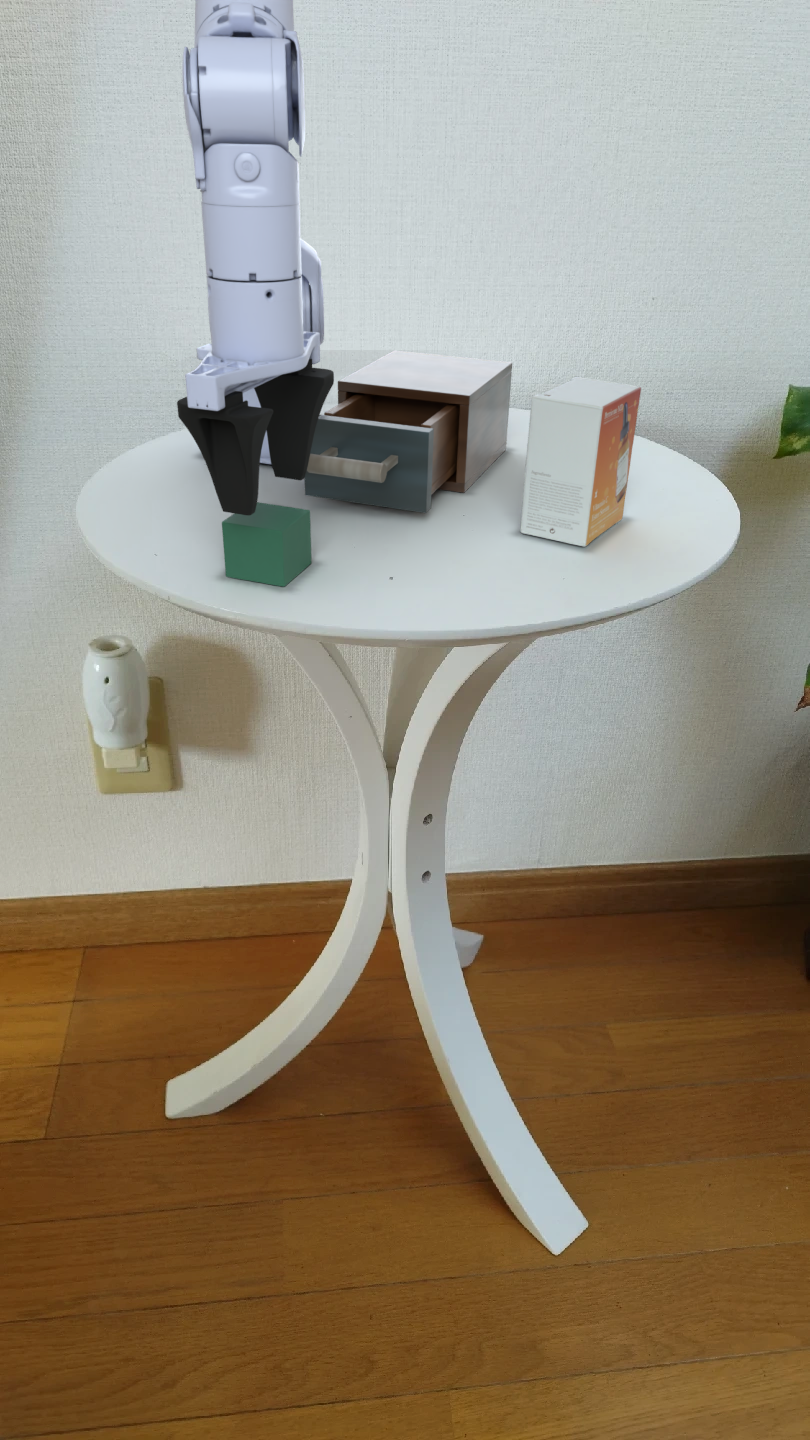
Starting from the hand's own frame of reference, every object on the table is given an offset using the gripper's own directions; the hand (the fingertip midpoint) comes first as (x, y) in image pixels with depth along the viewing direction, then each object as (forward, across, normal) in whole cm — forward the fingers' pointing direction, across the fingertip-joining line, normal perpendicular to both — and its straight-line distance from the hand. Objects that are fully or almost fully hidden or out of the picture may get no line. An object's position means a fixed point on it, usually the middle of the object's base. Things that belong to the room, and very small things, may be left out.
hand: (265, 494), depth 68 cm
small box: (+6, -17, +18) cm, 25 cm away
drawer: (+5, -17, +2) cm, 18 cm away
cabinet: (+6, -28, +2) cm, 29 cm away
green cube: (+6, 0, 0) cm, 6 cm away
